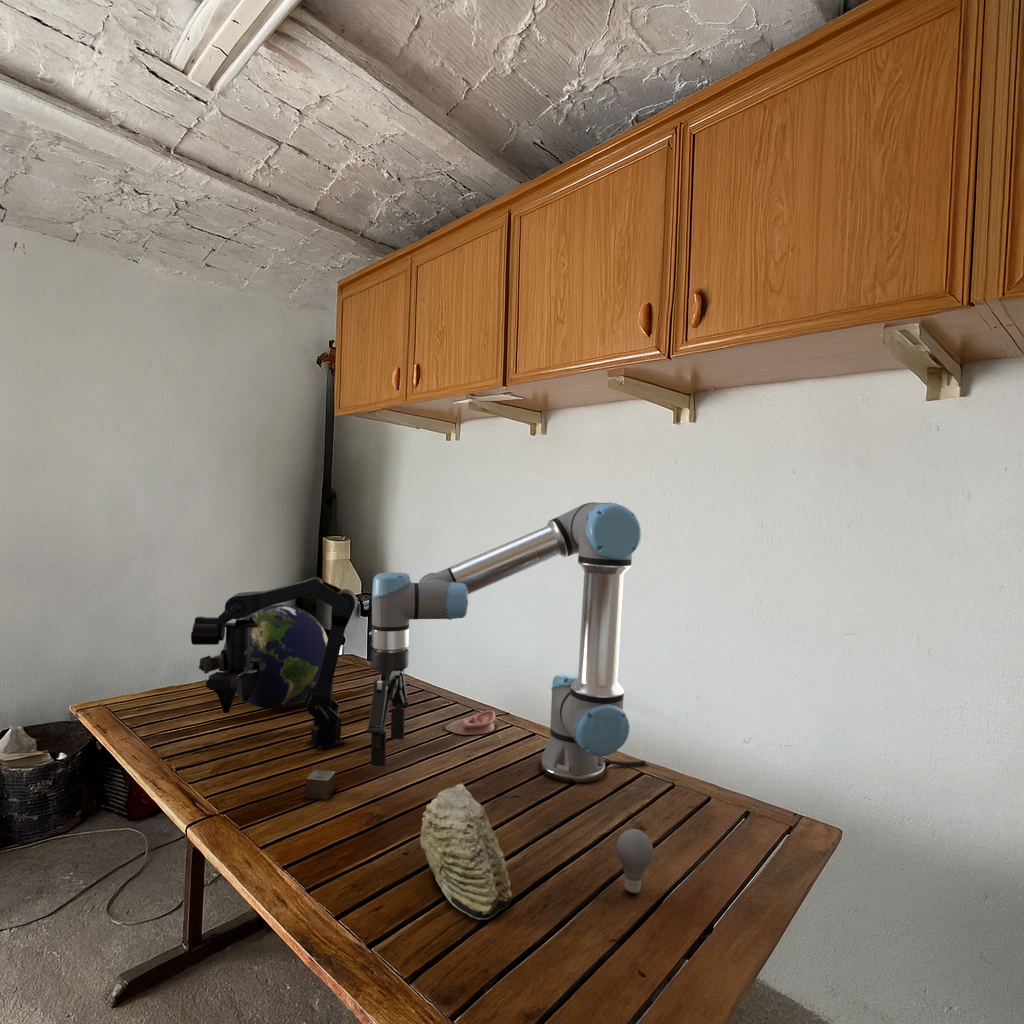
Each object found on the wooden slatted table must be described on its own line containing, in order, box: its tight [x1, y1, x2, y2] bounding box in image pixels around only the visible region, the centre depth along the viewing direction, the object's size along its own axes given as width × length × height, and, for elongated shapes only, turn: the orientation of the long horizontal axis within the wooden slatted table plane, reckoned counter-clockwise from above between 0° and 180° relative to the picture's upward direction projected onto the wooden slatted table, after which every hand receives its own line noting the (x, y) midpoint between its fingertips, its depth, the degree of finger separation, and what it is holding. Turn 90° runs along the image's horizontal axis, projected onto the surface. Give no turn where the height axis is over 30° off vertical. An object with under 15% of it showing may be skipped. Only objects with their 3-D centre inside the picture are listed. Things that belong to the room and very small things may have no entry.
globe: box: [222, 604, 328, 709], centre depth 188 cm, size 30×30×30 cm
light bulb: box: [615, 828, 654, 894], centre depth 106 cm, size 6×6×10 cm
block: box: [305, 769, 336, 801], centre depth 135 cm, size 4×5×4 cm
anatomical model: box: [444, 710, 496, 736], centre depth 177 cm, size 13×4×12 cm
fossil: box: [419, 783, 514, 921], centre depth 104 cm, size 9×18×15 cm, turn 45°
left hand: (235, 706), depth 158 cm, fingers open, 9 cm apart
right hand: (388, 751), depth 130 cm, fingers open, 13 cm apart
